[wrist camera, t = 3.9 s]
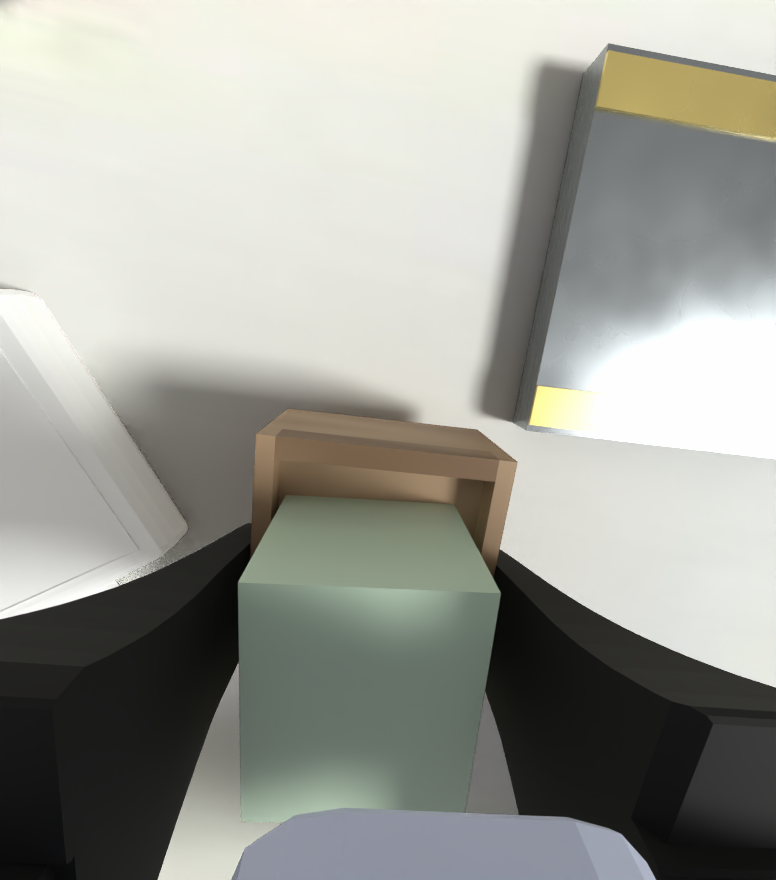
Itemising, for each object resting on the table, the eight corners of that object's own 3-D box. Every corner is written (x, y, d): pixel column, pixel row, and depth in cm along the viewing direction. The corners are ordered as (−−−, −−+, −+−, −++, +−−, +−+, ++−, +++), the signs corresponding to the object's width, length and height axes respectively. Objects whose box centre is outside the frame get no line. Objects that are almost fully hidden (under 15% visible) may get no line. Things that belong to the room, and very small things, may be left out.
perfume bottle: (-10, 284, 10) (225, 635, 13) (50, 293, 12) (244, 597, 15) (-260, 412, 11) (20, 723, 14) (-164, 401, 13) (63, 676, 16)
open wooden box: (436, 654, 14) (457, 751, 10) (272, 643, 13) (241, 739, 10) (477, 429, 12) (517, 462, 9) (287, 408, 11) (256, 433, 8)
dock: (783, 453, 14) (824, 464, 13) (512, 422, 13) (528, 430, 12) (902, 133, 12) (966, 108, 11) (583, 74, 11) (610, 40, 10)
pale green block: (433, 669, 11) (463, 823, 7) (283, 665, 10) (241, 822, 7) (454, 504, 10) (500, 593, 6) (286, 494, 9) (238, 582, 6)
